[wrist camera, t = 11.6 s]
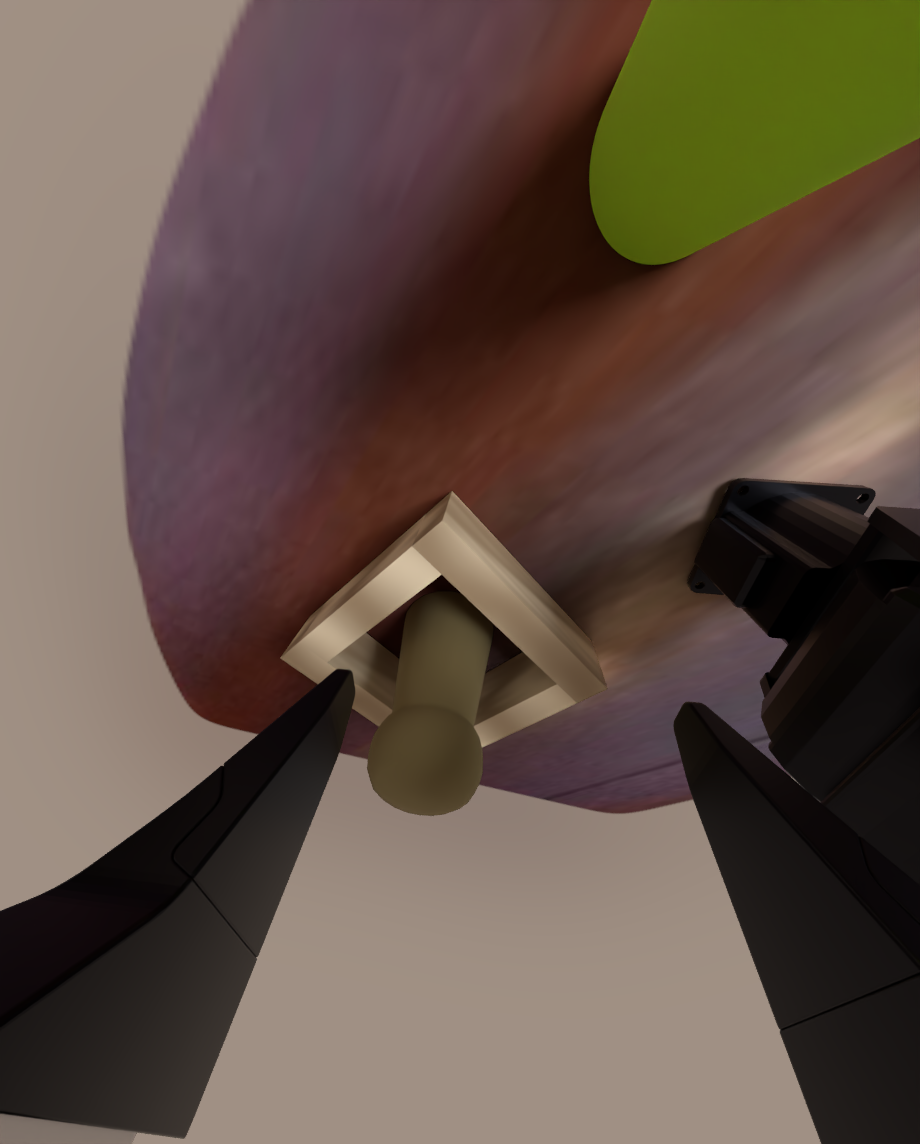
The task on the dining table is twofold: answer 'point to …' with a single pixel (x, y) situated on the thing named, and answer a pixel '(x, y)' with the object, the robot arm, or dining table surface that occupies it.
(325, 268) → the dining table surface
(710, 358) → the dining table surface
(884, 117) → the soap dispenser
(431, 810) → the olive round-headed peg
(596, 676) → the socket block
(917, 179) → the dining table surface
